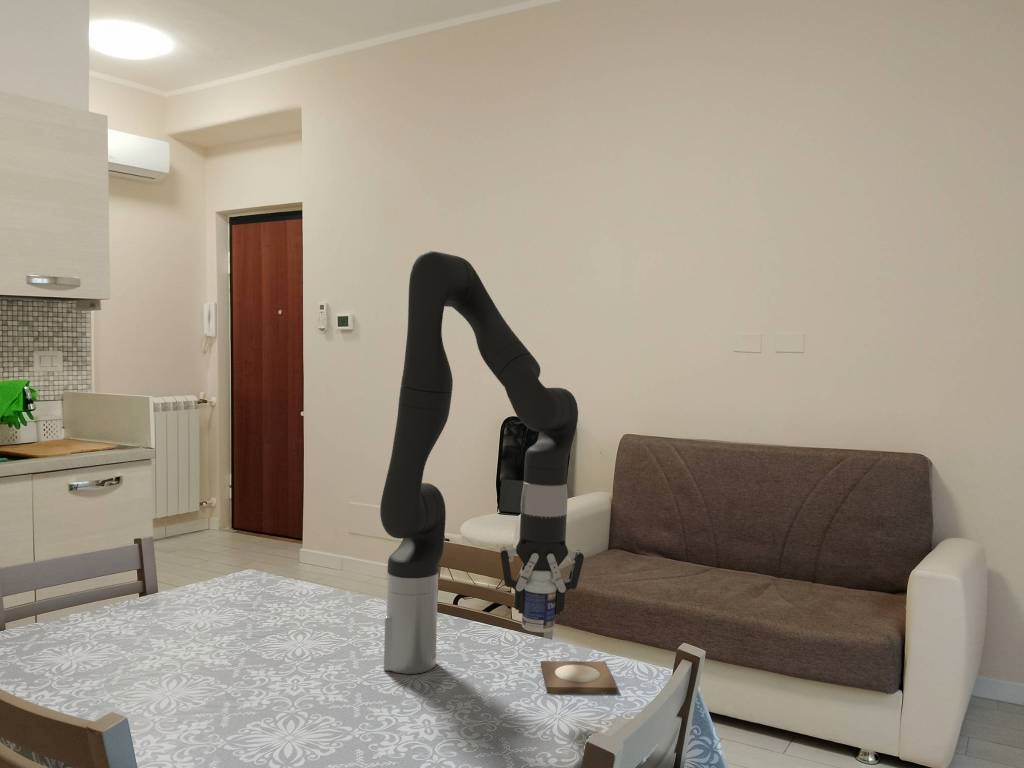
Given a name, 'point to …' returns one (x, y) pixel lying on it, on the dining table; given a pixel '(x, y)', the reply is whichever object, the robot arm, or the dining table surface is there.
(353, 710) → the dining table surface
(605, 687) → the rest board
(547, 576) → the pill bottle
